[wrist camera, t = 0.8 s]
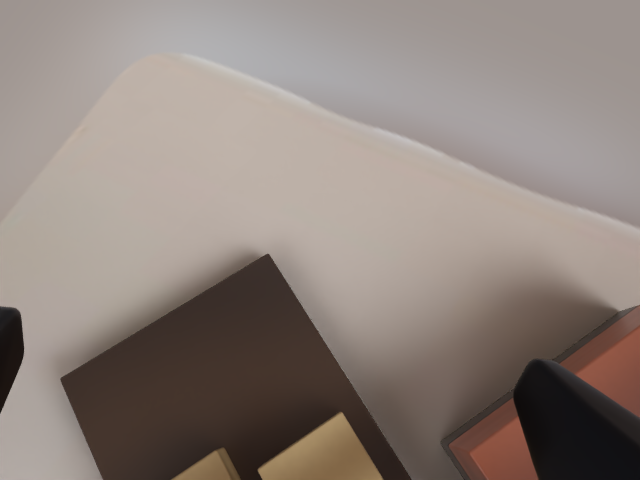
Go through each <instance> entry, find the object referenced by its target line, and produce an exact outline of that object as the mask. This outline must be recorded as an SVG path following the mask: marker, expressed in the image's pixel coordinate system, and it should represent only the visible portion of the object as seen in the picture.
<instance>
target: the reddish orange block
mask: <svg viewBox="0 0 640 480" xmlns="http://www.w3.org/2000/svg"><path fill="white" fill-rule="evenodd" d="M552 361H555V362H557V363H558V364H560V365H561V366H563V367H564V368H566V369H567V370H569V371H570V372H572V373H573V374H575V375H576V376H578V377H579V378H581V379H582V380H584V381H585V382H587V383H588V384H590V385H591V386H593V387H594V388H596V389H597V390H599V391H600V392H602V393H603V394H605V395H606V396H608V397H609V398H611V399H612V400H614V401H615V402H617V403H618V404H620V405H621V406H623V407H624V408H626V409H627V410H629V411H630V412H632V413H633V414H635V415H636V416H638V417H639V418H640V305H638V306H635V307H632V308H629V309H625V310H622V311H620V312H619V313H617V314H616V315H614V316H613V317H612V318H610V319H609V320H608V321H606V322H605V323H603V324H602V325H601V326H599V327H598V328H596V329H595V330H594V331H592V332H591V333H590V334H588V335H587V336H585V337H584V338H583V339H581V340H580V341H579V342H577V343H576V344H574V345H573V346H572V347H570V348H569V349H568V350H566V351H565V352H563V353H562V354H561V355H559V356H558V357H557V358H555V359H554V360H552ZM513 391H514V389H513V390H511V391H510V392H508V393H507V394H506V395H504V396H503V397H502V398H500V399H499V400H497V401H496V402H495V403H493V404H492V405H490V406H489V407H488V408H486V409H485V410H484V411H482V412H481V413H479V414H478V415H477V416H475V417H474V418H473V419H471V420H470V421H468V422H467V423H466V424H464V425H463V426H462V427H460V428H459V429H457V430H456V431H455V432H453V433H452V434H451V435H449V436H448V437H446V438H445V439H444V440H442V441H441V445H442V447H443V448H444V450H445V451H446V453H447V454H448V456H449V457H450V459H451V460H452V462H453V463H454V465H455V466H456V468H457V469H458V471H459V472H460V474H461V475H462V477H463V478H464V480H538V477H537V474H536V471H535V468H534V465H533V462H532V459H531V456H530V452H529V449H528V446H527V443H526V440H525V437H524V433H523V430H522V427H521V424H520V421H519V417H518V414H517V411H516V408H515V405H514V401H513Z"/></svg>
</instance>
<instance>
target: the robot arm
mask: <svg viewBox="0 0 640 480" xmlns="http://www.w3.org/2000/svg"><path fill="white" fill-rule="evenodd" d="M23 355H24V342H23V331H22V320H21V314H20V312H19V310H17V309H16V308H11V307H1V306H0V413H1V411H2V408H3V406H4V404H5V401H6V399H7V396H8V394H9V392H10V389H11V387H12V385H13V382H14V380H15V377H16V375H17V373H18V370H19V368H20V366H21V363H22V360H23ZM513 401H514V405H515V408H516V411H517V414H518V417H519V421H520V424H521V427H522V430H523V433H524V437H525V440H526V443H527V446H528V449H529V452H530V456H531V459H532V462H533V465H534V468H535V471H536V474H537V477H538V480H640V418H639V417H638V416H636V415H635V414H633V413H632V412H630V411H629V410H627V409H626V408H624V407H623V406H621V405H620V404H618V403H617V402H615V401H614V400H612V399H611V398H609V397H608V396H606V395H605V394H603V393H602V392H600V391H599V390H597V389H596V388H594V387H593V386H591V385H590V384H588V383H587V382H585V381H584V380H582V379H581V378H579V377H578V376H576V375H575V374H573V373H572V372H570V371H569V370H567V369H566V368H564V367H563V366H561V365H560V364H558V363H557V362H555V361H552V360H544V359H533V360H531V361H530V362H529V363H528V364H527V366H526V368H525V370H524V372H523V373H522V375H521V377H520V379H519V380H518V382H517V384H516V386H515V388H514V391H513Z"/></svg>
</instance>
